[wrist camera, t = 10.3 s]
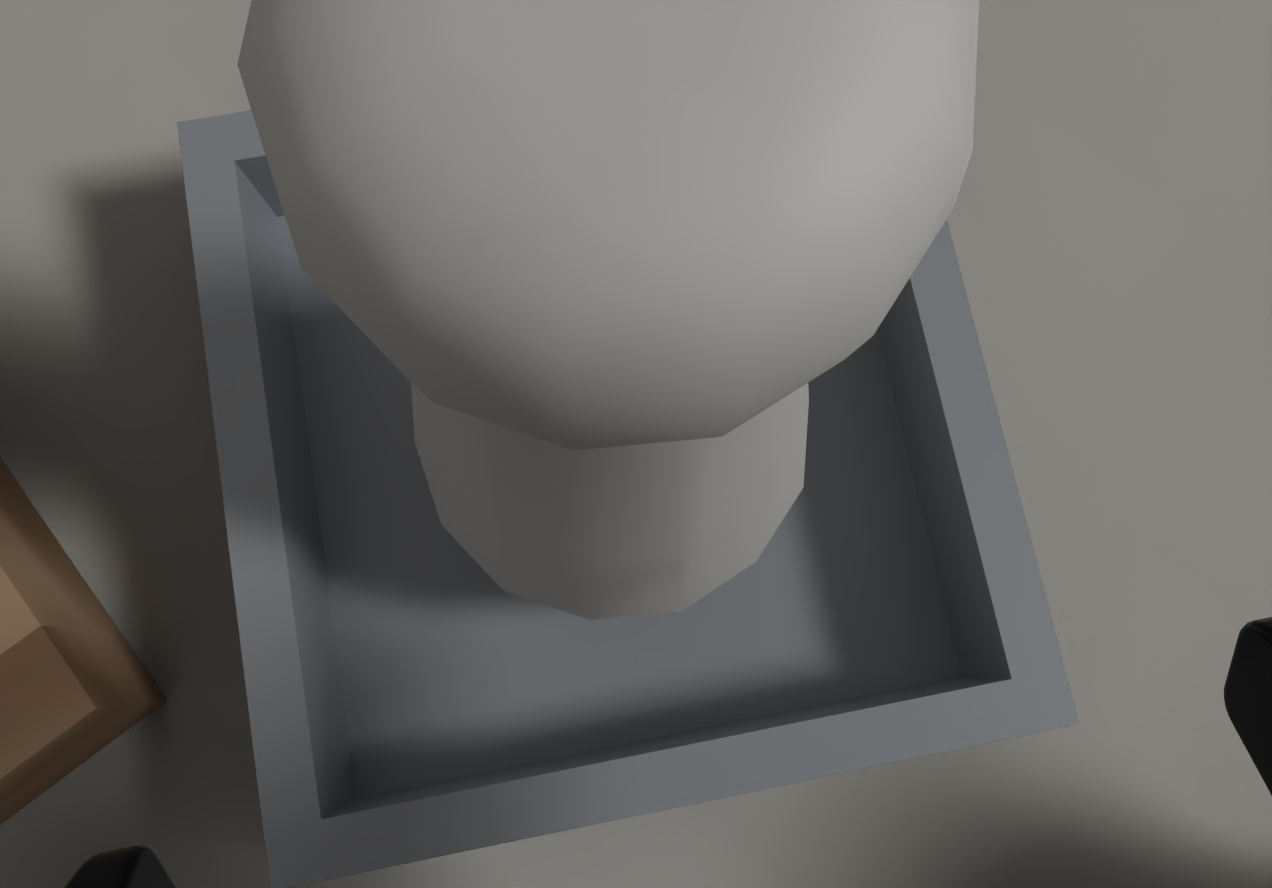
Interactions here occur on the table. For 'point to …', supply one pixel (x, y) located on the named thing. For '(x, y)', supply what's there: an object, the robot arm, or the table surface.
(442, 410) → the salt shaker
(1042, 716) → the grey tray
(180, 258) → the table surface
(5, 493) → the walnut socket
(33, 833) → the table surface
